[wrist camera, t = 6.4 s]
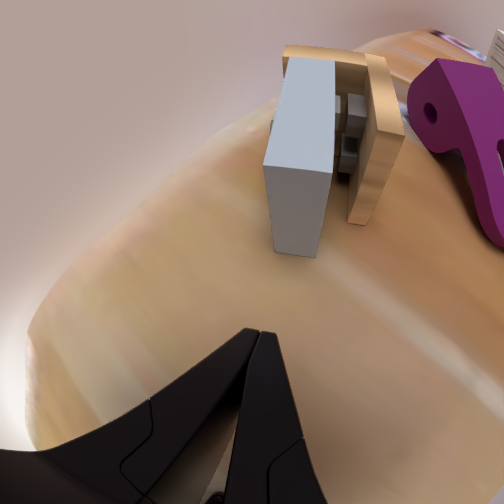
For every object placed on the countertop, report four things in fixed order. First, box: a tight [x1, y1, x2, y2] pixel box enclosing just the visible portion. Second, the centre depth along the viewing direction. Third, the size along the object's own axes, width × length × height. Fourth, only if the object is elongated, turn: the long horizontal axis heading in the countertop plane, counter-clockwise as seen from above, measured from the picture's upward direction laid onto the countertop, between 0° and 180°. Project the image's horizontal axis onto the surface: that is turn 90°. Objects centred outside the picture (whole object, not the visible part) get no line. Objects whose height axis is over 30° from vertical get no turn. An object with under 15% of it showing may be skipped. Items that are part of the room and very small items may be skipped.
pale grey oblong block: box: [263, 57, 340, 258], centre depth 18 cm, size 10×5×10 cm, turn 168°
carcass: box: [282, 45, 405, 226], centre depth 19 cm, size 9×7×10 cm
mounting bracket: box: [407, 58, 504, 248], centre depth 20 cm, size 10×8×18 cm
